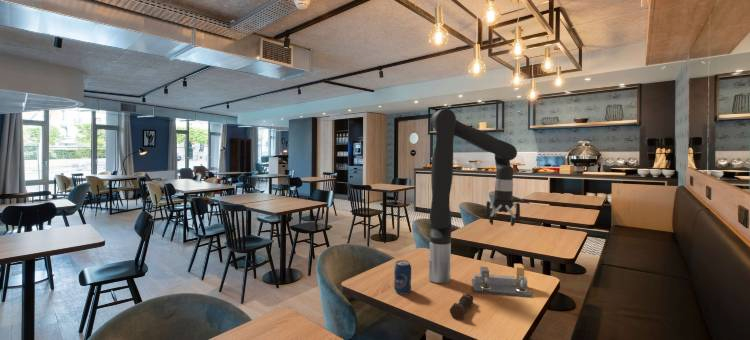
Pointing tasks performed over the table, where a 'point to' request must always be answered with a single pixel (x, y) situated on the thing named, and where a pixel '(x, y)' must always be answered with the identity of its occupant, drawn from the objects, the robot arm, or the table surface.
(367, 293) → the table surface
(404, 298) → the table surface
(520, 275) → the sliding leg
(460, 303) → the dark brown lobed piece
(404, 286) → the soda can
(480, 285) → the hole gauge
